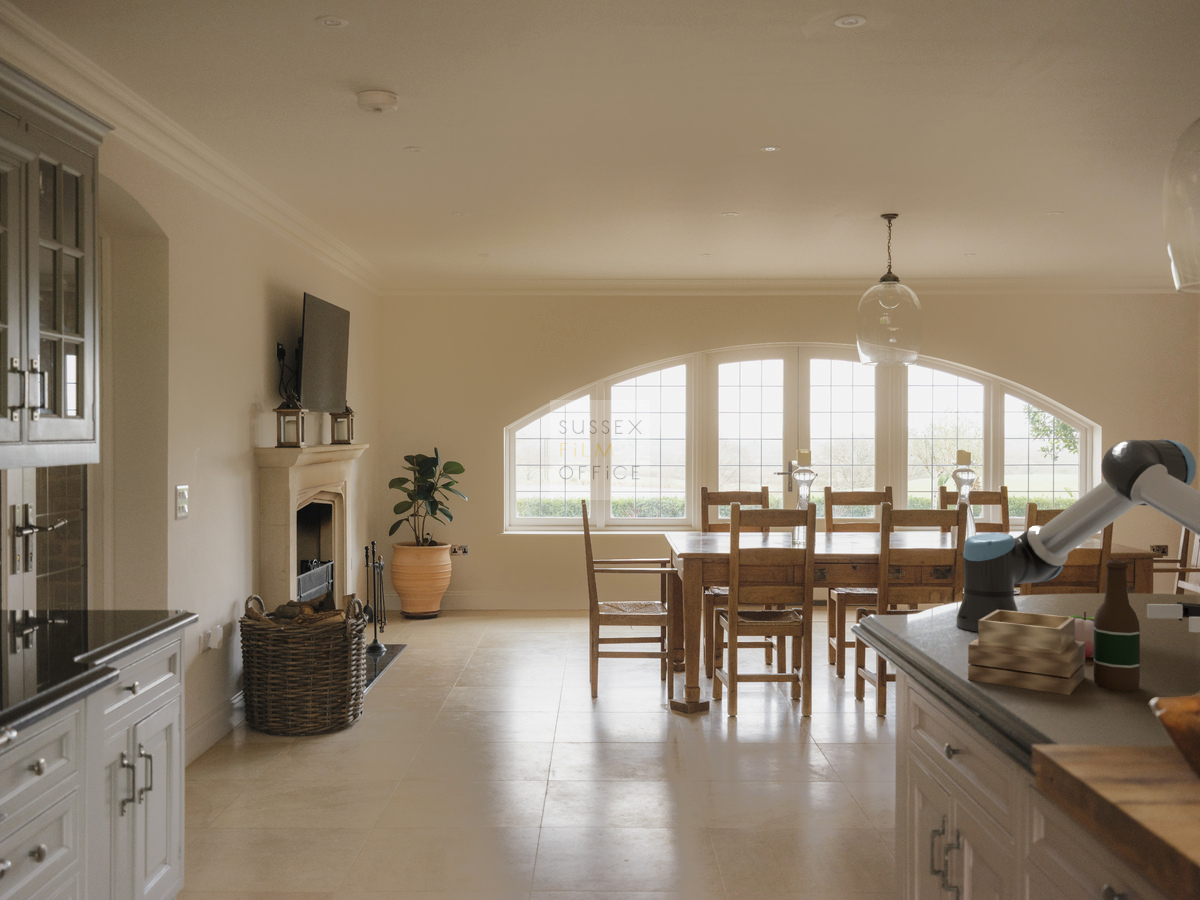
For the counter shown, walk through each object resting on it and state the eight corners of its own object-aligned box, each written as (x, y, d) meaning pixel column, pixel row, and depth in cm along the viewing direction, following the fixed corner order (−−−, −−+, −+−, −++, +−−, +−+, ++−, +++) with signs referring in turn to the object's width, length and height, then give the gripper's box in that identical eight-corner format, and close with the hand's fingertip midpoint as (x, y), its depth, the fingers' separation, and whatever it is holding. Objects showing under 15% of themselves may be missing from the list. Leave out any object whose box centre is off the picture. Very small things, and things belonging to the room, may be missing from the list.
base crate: (968, 679, 180) (968, 644, 179) (989, 664, 192) (989, 630, 192) (1069, 694, 169) (1069, 656, 169) (1084, 677, 181) (1084, 642, 181)
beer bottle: (1097, 678, 180) (1098, 557, 180) (1143, 685, 175) (1143, 560, 175) (1089, 687, 174) (1089, 561, 174) (1135, 694, 169) (1136, 564, 169)
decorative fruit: (1110, 656, 200) (1110, 610, 200) (1109, 663, 193) (1109, 616, 193) (1062, 651, 204) (1062, 606, 204) (1059, 658, 197) (1059, 612, 197)
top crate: (978, 644, 179) (978, 620, 179) (997, 632, 191) (997, 609, 191) (1060, 654, 170) (1060, 629, 170) (1074, 641, 182) (1074, 617, 182)
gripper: (1332, 652, 161) (1209, 651, 162) (1238, 625, 186) (1132, 624, 187) (1332, 610, 161) (1209, 609, 162) (1238, 588, 186) (1132, 587, 187)
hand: (1167, 617), depth 174 cm, fingers open, 13 cm apart
